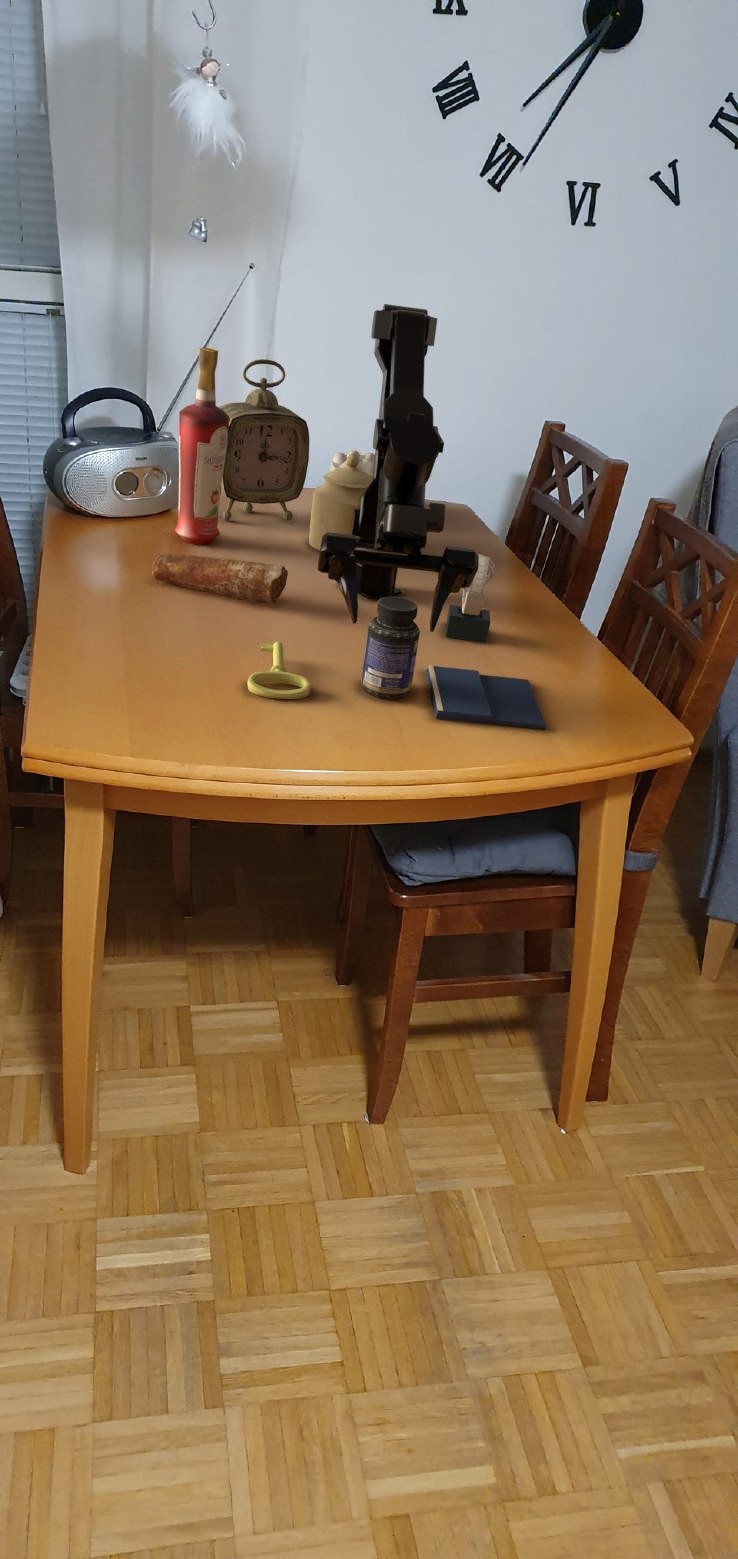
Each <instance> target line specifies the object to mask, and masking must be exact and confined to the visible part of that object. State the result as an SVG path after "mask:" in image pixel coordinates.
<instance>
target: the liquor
mask: <svg viewBox="0 0 738 1559" xmlns="http://www.w3.org/2000/svg"><path fill="white" fill-rule="evenodd" d="M218 359H219V350H218V349H217V348H211V347H199V350H198V368H199V373H198V379H197V386H196V393H195V401H194V403H192V404H189V405H186V406H185V407H184V408H182V409H181V410H180V411H179V415H178V416H179V418H178V419H179V420H178V421H179V422H178V431H179V432H178V476H179V477H178V511H177V512H178V515H177V520H178V521H177V525H176V526H175V527H174V531H175V533H176V534H177V535H178V536H179V538H180V539H181V540H182V541H184V542H185V543H188V544H191V545H208V544H210V543H212V542H213V541H214V540H215V539H216V538H218V537H219V536H220V535H221V532H220V530H219V527H218V525H219V524H218V523H219V514H220V513H219V512H220V506H221V505H220V504H221V503H220V502H221V494H222V492H221V486H222V477H223V470H224V463H225V455H226V447H227V438H228V429H229V420H230V417H229V416H228V415H227V413H226V412H225V411H224V410H222V409H221V408H219V407H220V406H217V402H216V400H217V399H216V370H217V366H218V361H219V360H218Z"/></svg>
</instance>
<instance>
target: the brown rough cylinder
mask: <svg viewBox="0 0 738 1559" xmlns="http://www.w3.org/2000/svg"><path fill="white" fill-rule="evenodd" d="M151 575H152V576H153V577H154V578H155V580H157V581H161V582H165V583H169V584H172V585H178V586H182V587H185V588H188V589H192V590H198V591H203V592H208V593H213V594H219V595H223V596H227V597H232V598H237V599H242V600H245V601H249V602H253V603H259V604H262V605H263V604H265V605H272V604H277V602H278V599H279V598H280V597H281V595H282V593H283V591H284V589H285V588H286V586H287V580H288V575H289V571H288V570H287V569H286V567H285V566H284V565H280V564H279V565H278V564H275V563H265V562H258V561H250V560H249V561H248V560H239V559H232V558H221V557H211V556H210V557H209V556H201V555H200V556H199V555H192V554H191V555H190V554H175V553H160V554H158V555H157V556H156V557H155V559H154V560H153V562H152V565H151Z"/></svg>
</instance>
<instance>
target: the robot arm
mask: <svg viewBox="0 0 738 1559" xmlns="http://www.w3.org/2000/svg"><path fill="white" fill-rule="evenodd" d="M437 326H438V318H437V317H434V316H430V315H429V311H428V309H425V308H417V307H412V306H411V307H410V306H403V305H396V304H388V303H384V304H383V306H382V309H381V310H380V309H379V310H378V309H376V310H374V311H373V317H372V323H371V333H370V338H371V339H372V340H374V350H373V355H374V357H375V359H376V362H377V363H378V366H379V368H380V371H381V372H382V380H381V381H382V382H381V390H380V400H379V411H378V418H376V419H375V423H374V429H373V438H372V448H373V450H374V455H375V458H374V467H373V477H372V482H371V483H370V485H369V486H368V487H367V489H366V490H365V492H364V493H363V494H362V496H361V497H360V499H359V505H358V509H357V508H354V511H353V515H352V520H351V524H350V530H349V535H348V534H340V533H331V532H327V533H326V534H325V535H323V536H322V540H321V545H320V551H319V550H318V558H317V559H318V561H317V571H318V572H320V573H322V574H327V578H328V579H329V580H332V581H335V582H336V584H337V586H338V588H339V590H340V592H341V594H342V596H343V598H344V601H345V604H346V607H347V611H348V614H349V616H350V620H351V623H352V624H355V625H356V624H357V622H358V614H359V598H358V595H359V596H361V597H363V598H364V599H367V600H369V601H374V600H379V599H381V598H384V597H396V596H399V595H400V596H401V595H403V590H402V589H400V588H398V587H396V582H397V576H398V569H404V570H414V571H423V572H431V573H437V583H436V584H435V587H434V592H433V593H434V594H433V600H432V606H431V612H430V619H429V632H431V633H434V631H435V629H436V626H437V624H438V621H439V619H440V616H441V614H442V612H443V608H444V605H445V604H446V602H447V600H448V598H449V597H450V595H451V594H459V592H460V591H461V589H464V588H468V587H470V585H471V583H472V581H473V579H474V577H475V575H476V573H477V571H478V566H479V556H478V554H479V553H478V552H477V551H476V549H474V548H472V547H471V548H470V547H462V546H453V545H445V548H444V551H443V553H442V555H435V554H427V553H426V554H425V553H423V549H425V548H426V546H427V542H428V541H427V540H428V533H434V534H441V533H442V532H443V531H444V528H445V521H446V520H445V519H446V504H445V503H438V502H430V503H429V504H428V505H427V507H426V506H425V504H426V487H427V486H426V485H427V483H428V482H429V480H430V478H431V476H432V472H433V470H434V466H435V463H436V460H437V458H438V457H439V454H443V453H444V446H445V442H444V440H443V438H442V436H441V434H440V433H439V428H438V426H437V425H434V406H432V404H431V402H429V401H428V400H427V399H426V397H425V362H426V360H425V359H426V358H425V357H426V356H427V355H428V351H429V350H428V349H429V347H434V346H435V342H436V334H437ZM355 536H359V538H356V537H355Z"/></svg>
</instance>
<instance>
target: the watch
mask: <svg viewBox="0 0 738 1559" xmlns="http://www.w3.org/2000/svg"><path fill="white" fill-rule="evenodd" d="M477 554H478V556H479V566H478V571H477V573H476V575H475V577H474V579H473V581H472V583H471V585H470V587H468V588H463V591H462V601H461V602H462V603H461V604H462V605H456V604H449V606H448V612H447V618H446V623H445V637H446V638H451V639H456V640H464V641H470V642H477V643H484V644H487V642H488V636H489V631H490V626H491V612H490V609H484V608H483V603H484V598H485V594H484V592H485V589H486V588H485V587H486V586H487V585H488V583H489V582H490V581H491V580H492V579H493V577H494V574H495V570H496V569H495V568H496V566H495V563H494V561H493V560H492V558H491V557H489V556H487V555H485V554H479V553H477Z"/></svg>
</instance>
